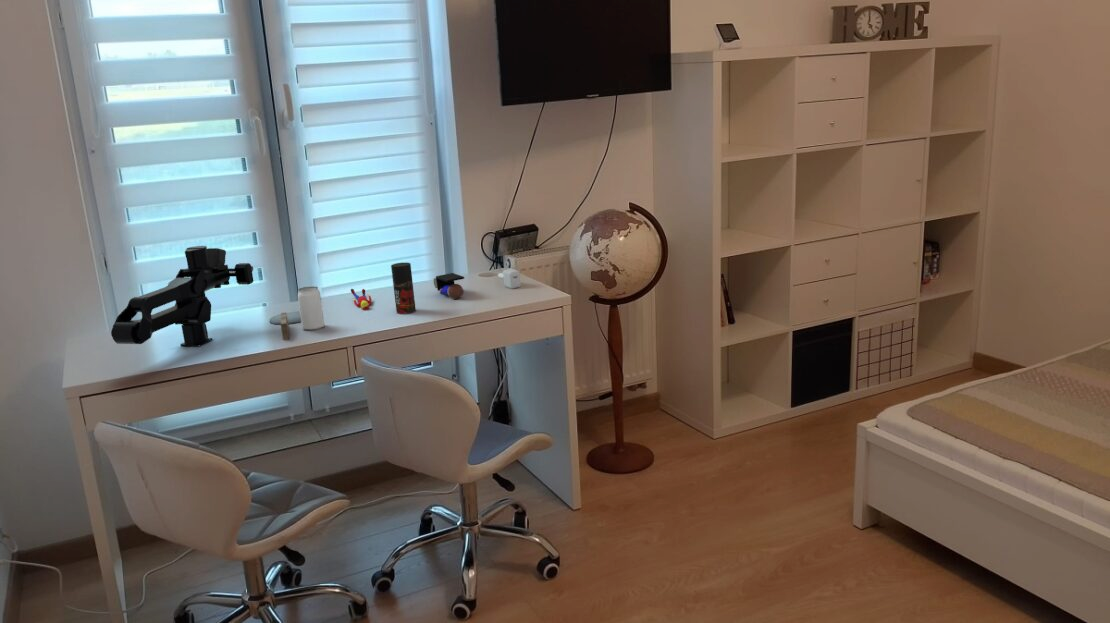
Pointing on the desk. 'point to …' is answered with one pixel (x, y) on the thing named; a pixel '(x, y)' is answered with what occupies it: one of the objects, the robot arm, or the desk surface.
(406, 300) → the deodorant
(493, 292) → the desk surface
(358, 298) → the character figure
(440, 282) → the figurine character
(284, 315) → the partition
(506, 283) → the power adapter
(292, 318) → the pad
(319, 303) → the can
